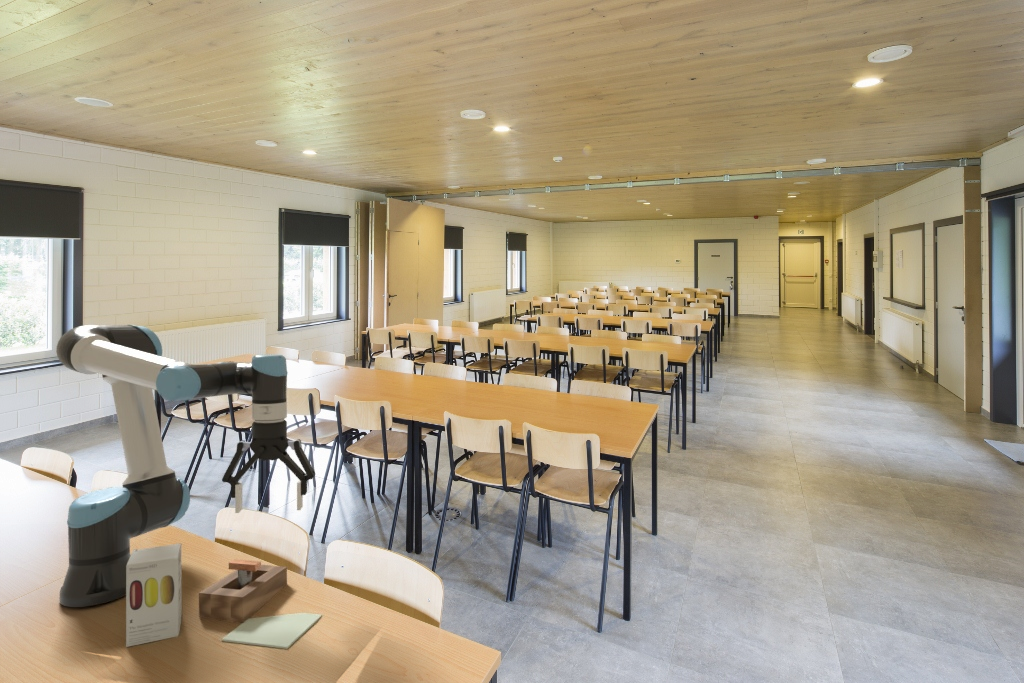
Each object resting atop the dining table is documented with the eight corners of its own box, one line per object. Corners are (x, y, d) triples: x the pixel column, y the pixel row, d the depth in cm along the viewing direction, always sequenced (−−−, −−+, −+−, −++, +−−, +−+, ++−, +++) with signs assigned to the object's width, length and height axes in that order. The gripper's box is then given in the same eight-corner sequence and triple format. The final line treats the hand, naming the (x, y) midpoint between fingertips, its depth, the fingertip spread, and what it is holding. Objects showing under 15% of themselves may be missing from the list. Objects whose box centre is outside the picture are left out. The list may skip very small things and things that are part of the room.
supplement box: (124, 648, 112) (123, 565, 111) (131, 627, 120) (130, 549, 120) (180, 636, 116) (179, 556, 116) (182, 616, 124) (182, 541, 124)
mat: (221, 641, 114) (221, 639, 114) (262, 610, 127) (262, 608, 127) (287, 648, 111) (287, 646, 111) (322, 616, 124) (322, 614, 124)
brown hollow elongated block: (199, 619, 123) (198, 592, 123) (247, 587, 138) (247, 563, 138) (242, 624, 120) (242, 597, 120) (287, 591, 136) (286, 566, 136)
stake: (226, 607, 128) (225, 564, 128) (238, 599, 132) (237, 557, 132) (253, 610, 127) (252, 566, 127) (264, 602, 131) (263, 559, 131)
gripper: (206, 424, 125) (206, 517, 125) (322, 421, 129) (322, 512, 130) (218, 418, 132) (218, 507, 133) (327, 416, 137) (327, 502, 137)
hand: (269, 510), depth 131 cm, fingers open, 13 cm apart
